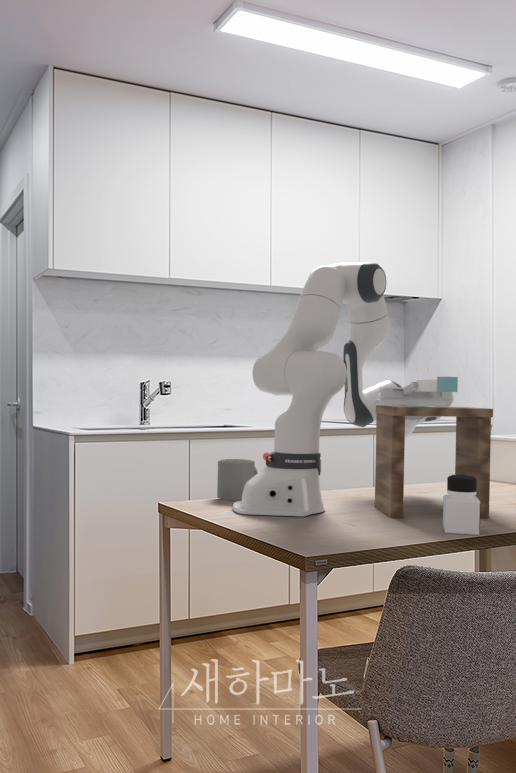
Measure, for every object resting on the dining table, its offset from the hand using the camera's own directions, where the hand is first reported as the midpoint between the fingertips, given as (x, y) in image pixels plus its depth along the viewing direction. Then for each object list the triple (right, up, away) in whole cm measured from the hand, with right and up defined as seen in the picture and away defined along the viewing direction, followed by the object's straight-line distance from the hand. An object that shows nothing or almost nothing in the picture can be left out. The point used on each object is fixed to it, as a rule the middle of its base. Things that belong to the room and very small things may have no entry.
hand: (423, 384), depth 184 cm
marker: (+1, -2, -8) cm, 8 cm away
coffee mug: (-48, -31, +5) cm, 58 cm away
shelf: (-1, -32, -13) cm, 34 cm away
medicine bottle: (0, -32, -35) cm, 47 cm away
